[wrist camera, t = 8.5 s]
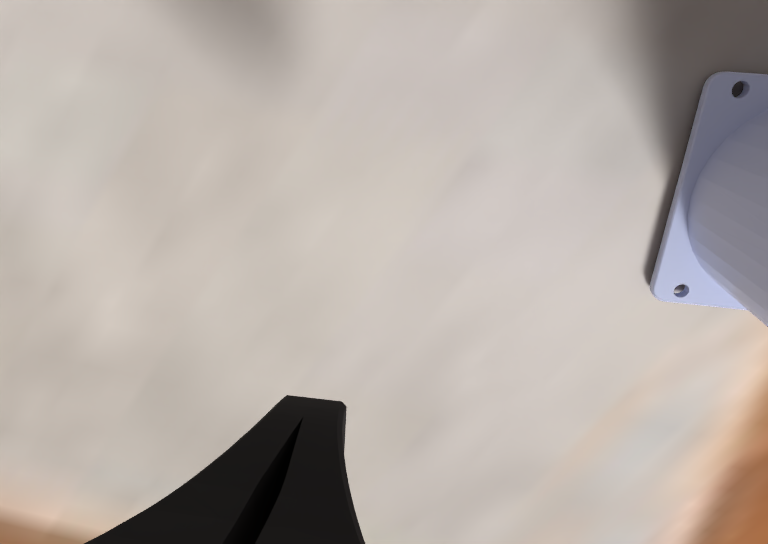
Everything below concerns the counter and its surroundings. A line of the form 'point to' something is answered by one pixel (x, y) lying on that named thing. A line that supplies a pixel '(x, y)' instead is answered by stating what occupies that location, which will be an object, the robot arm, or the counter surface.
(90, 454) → the counter surface
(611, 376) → the counter surface
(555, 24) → the counter surface
